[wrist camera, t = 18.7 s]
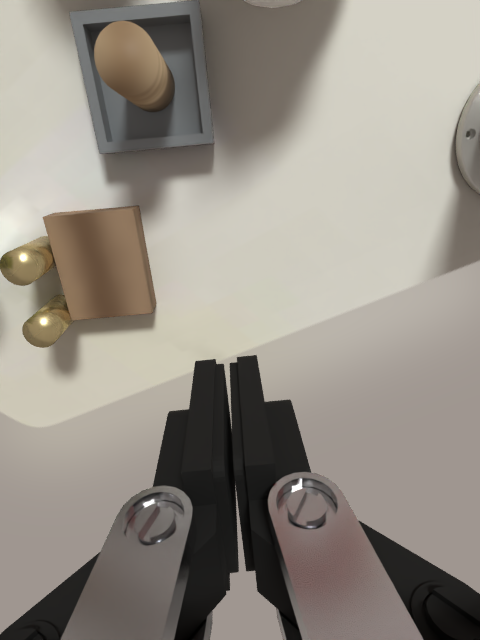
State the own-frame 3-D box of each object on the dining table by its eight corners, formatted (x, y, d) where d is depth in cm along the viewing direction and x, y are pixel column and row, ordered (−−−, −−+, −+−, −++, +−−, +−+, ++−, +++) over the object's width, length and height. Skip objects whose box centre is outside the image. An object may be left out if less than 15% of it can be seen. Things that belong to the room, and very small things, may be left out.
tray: (200, 11, 30) (199, -1, 28) (214, 143, 34) (213, 142, 32) (80, 22, 30) (69, 11, 28) (107, 153, 34) (99, 153, 32)
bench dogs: (59, 234, 37) (30, 249, 31) (82, 319, 41) (61, 345, 35) (28, 237, 37) (-6, 252, 31) (54, 322, 41) (28, 348, 35)
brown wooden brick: (139, 205, 37) (132, 209, 34) (157, 302, 41) (152, 313, 38) (56, 212, 37) (42, 217, 34) (81, 309, 41) (71, 320, 38)
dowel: (176, 59, 31) (158, 25, 24) (173, 115, 33) (156, 98, 25) (126, 53, 31) (93, 16, 23) (126, 109, 32) (95, 91, 25)
